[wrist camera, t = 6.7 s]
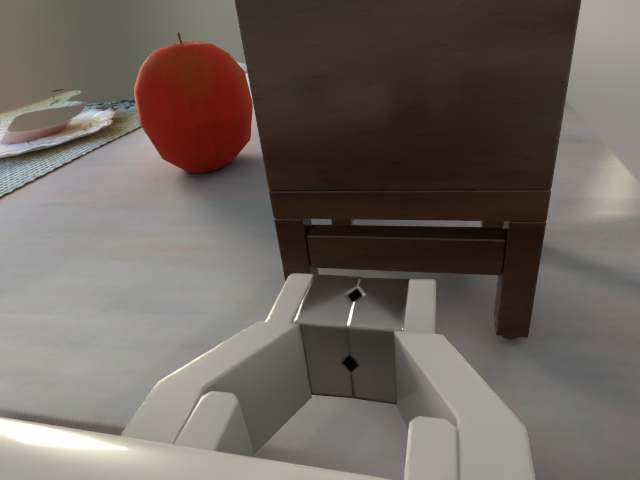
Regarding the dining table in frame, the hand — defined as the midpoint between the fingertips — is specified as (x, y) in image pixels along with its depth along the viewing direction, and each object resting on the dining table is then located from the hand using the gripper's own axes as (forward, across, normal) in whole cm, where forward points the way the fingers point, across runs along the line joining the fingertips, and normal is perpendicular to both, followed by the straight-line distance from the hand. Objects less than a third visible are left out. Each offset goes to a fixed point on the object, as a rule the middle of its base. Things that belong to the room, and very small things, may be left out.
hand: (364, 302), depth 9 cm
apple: (+30, +20, +8) cm, 36 cm away
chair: (+12, 0, +8) cm, 15 cm away
